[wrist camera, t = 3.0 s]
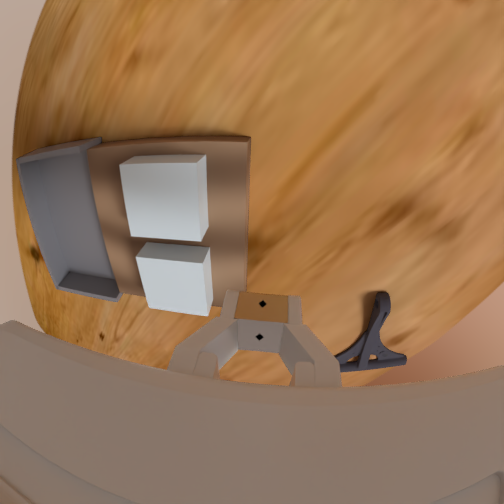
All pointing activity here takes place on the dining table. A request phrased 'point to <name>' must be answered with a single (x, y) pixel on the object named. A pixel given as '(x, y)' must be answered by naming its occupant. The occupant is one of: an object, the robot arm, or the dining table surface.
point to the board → (218, 197)
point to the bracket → (372, 343)
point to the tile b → (176, 277)
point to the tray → (67, 218)
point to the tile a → (166, 196)
